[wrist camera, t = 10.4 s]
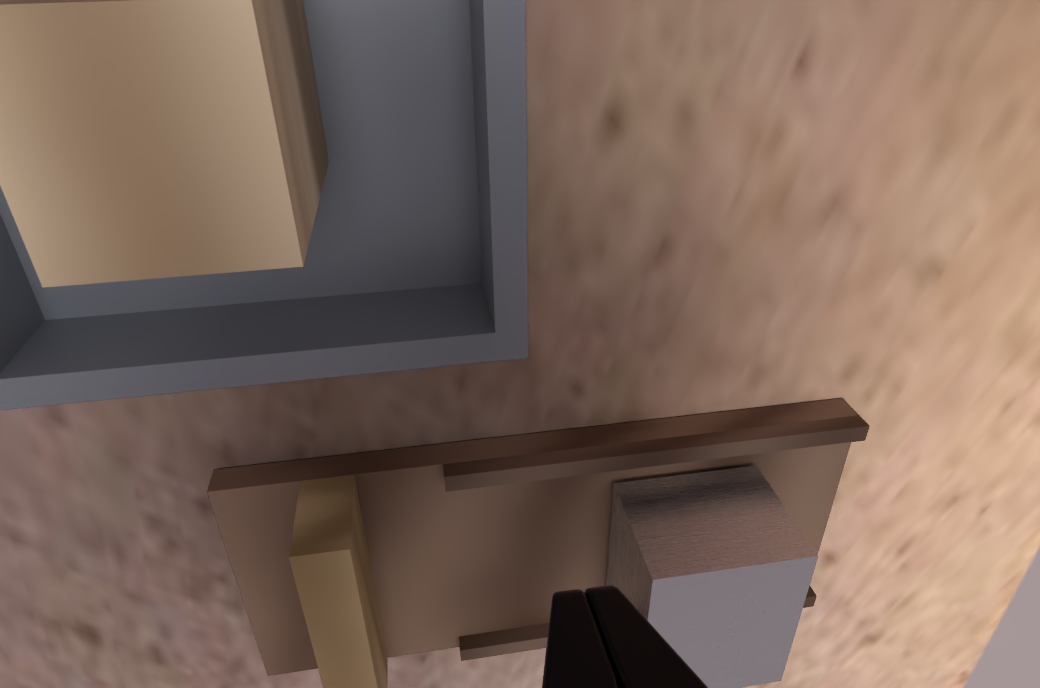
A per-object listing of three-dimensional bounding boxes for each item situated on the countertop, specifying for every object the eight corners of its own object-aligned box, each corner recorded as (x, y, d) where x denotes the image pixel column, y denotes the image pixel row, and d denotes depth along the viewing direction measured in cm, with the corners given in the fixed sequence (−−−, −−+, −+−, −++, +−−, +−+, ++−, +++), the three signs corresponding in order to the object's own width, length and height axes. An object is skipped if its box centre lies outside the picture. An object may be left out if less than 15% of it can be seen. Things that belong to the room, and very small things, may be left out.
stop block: (298, -29, 14) (250, -4, 9) (328, 161, 17) (303, 266, 12) (93, -24, 14) (-74, 7, 9) (151, 172, 16) (42, 288, 11)
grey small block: (756, 465, 24) (818, 556, 20) (730, 585, 27) (781, 680, 23) (613, 483, 23) (652, 580, 20) (604, 603, 26) (636, 705, 23)
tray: (493, -285, 14) (522, -344, 11) (507, 293, 20) (528, 357, 17) (-241, -304, 12) (-448, -377, 9) (36, 334, 18) (-31, 413, 15)
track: (842, 398, 24) (916, 474, 21) (793, 574, 29) (847, 660, 26) (214, 469, 22) (182, 571, 18) (271, 651, 26) (254, 759, 23)
